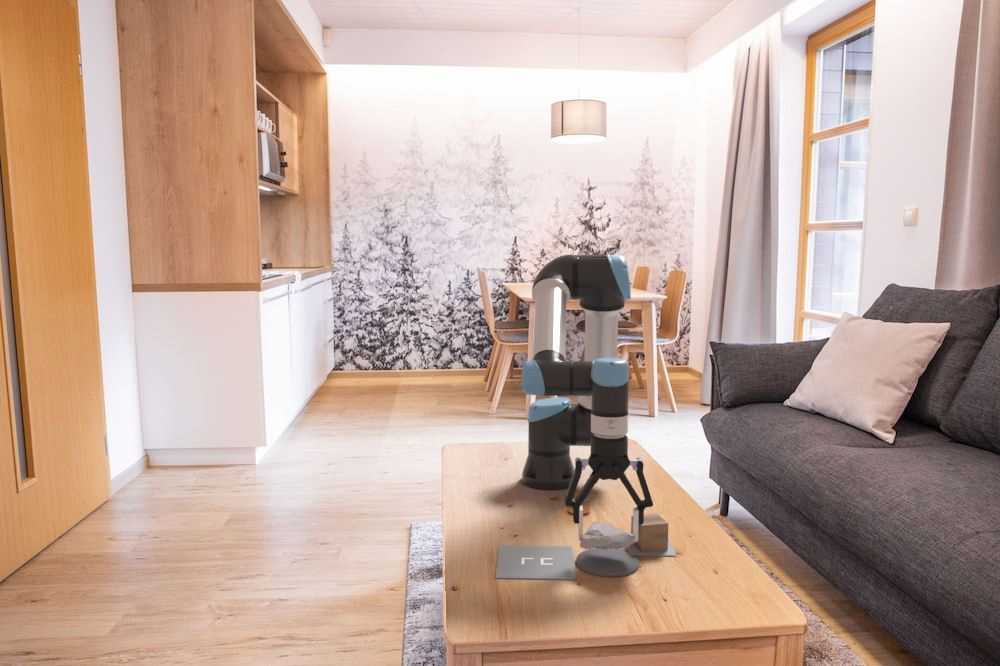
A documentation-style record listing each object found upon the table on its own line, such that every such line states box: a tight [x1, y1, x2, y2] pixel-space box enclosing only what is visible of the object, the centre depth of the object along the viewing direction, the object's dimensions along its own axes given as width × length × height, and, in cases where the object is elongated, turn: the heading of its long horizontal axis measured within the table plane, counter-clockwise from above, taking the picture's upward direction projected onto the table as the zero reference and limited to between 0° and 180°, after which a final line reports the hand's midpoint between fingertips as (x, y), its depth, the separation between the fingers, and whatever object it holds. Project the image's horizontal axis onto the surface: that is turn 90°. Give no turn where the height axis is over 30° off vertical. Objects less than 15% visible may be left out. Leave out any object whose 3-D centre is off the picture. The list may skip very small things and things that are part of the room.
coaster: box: [575, 548, 640, 578], centre depth 154 cm, size 13×13×1 cm
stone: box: [579, 521, 637, 550], centre depth 153 cm, size 10×12×4 cm
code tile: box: [494, 544, 577, 581], centre depth 154 cm, size 16×16×1 cm
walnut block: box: [630, 513, 669, 552], centre depth 162 cm, size 6×6×6 cm
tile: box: [625, 537, 677, 557], centre depth 162 cm, size 10×10×1 cm
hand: (607, 538), depth 153 cm, fingers closed on stone, 11 cm apart
